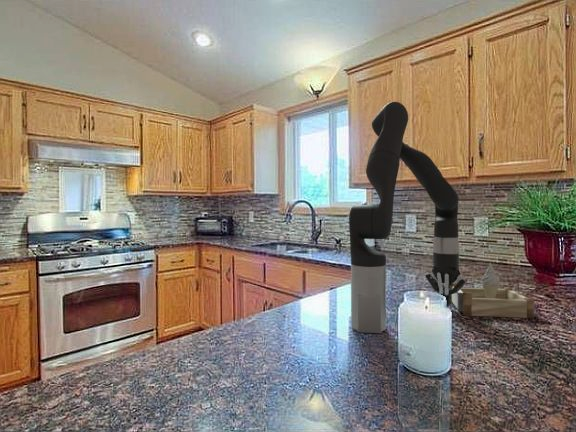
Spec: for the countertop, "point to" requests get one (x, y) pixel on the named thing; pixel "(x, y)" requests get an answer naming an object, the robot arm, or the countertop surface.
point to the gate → (458, 300)
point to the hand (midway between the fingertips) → (445, 305)
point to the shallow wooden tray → (496, 303)
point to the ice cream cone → (490, 282)
